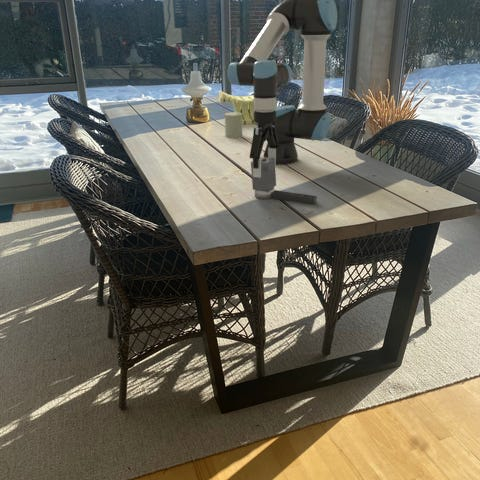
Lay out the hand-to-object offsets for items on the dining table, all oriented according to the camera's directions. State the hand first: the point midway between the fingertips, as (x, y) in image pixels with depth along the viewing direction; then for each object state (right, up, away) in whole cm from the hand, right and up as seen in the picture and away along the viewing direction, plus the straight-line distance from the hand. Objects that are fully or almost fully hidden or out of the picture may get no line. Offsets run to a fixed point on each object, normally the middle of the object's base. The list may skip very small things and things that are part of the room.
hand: (264, 171), depth 172 cm
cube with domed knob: (0, -5, +3) cm, 6 cm away
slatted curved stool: (-5, +47, +120) cm, 129 cm away
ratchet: (+7, -10, +1) cm, 12 cm away
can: (-12, +31, +87) cm, 93 cm away
